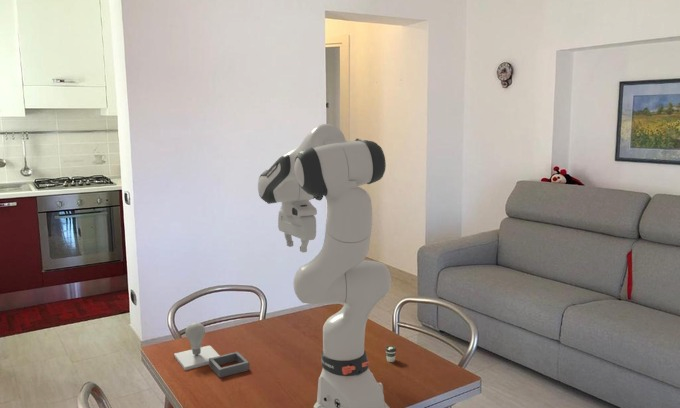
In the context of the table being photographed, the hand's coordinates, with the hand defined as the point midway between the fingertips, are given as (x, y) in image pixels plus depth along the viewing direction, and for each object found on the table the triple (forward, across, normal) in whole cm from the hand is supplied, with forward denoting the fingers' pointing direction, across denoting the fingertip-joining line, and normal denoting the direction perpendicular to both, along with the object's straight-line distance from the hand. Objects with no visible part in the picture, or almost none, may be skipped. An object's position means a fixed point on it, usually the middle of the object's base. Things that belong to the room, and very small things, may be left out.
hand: (296, 249), depth 183 cm
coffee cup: (+35, +24, +20) cm, 47 cm away
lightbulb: (+33, -12, -31) cm, 47 cm away
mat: (+34, -11, -31) cm, 47 cm away
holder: (+34, +1, -25) cm, 42 cm away
